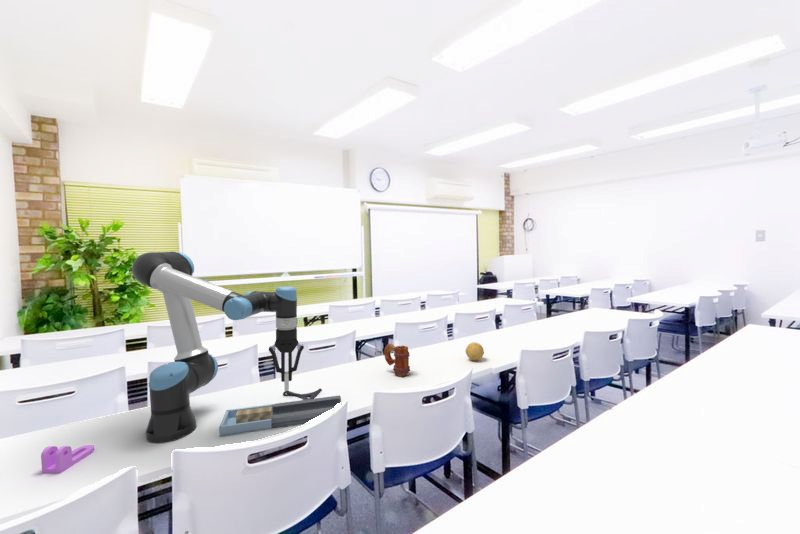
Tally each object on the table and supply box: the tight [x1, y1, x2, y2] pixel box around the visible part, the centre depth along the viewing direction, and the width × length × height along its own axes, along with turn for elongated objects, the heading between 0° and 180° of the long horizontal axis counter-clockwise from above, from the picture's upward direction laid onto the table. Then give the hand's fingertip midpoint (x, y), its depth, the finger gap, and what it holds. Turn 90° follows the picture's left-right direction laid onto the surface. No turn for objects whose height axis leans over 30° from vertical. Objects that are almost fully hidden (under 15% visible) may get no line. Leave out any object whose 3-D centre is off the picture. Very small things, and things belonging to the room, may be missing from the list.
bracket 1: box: [40, 444, 95, 474], centre depth 112 cm, size 13×6×7 cm, turn 178°
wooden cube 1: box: [236, 409, 249, 424], centre depth 133 cm, size 4×4×4 cm
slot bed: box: [271, 395, 342, 430], centre depth 140 cm, size 26×14×4 cm, turn 106°
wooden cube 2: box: [248, 408, 260, 422], centre depth 134 cm, size 4×4×4 cm
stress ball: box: [465, 342, 485, 362], centre depth 203 cm, size 10×10×10 cm
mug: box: [383, 343, 411, 377], centre depth 184 cm, size 15×8×15 cm, turn 58°
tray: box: [218, 403, 274, 437], centre depth 134 cm, size 17×14×3 cm
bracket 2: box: [282, 388, 323, 400], centre depth 158 cm, size 14×15×3 cm
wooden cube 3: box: [260, 406, 272, 420], centre depth 135 cm, size 4×4×4 cm
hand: (286, 389), depth 137 cm, fingers closed
